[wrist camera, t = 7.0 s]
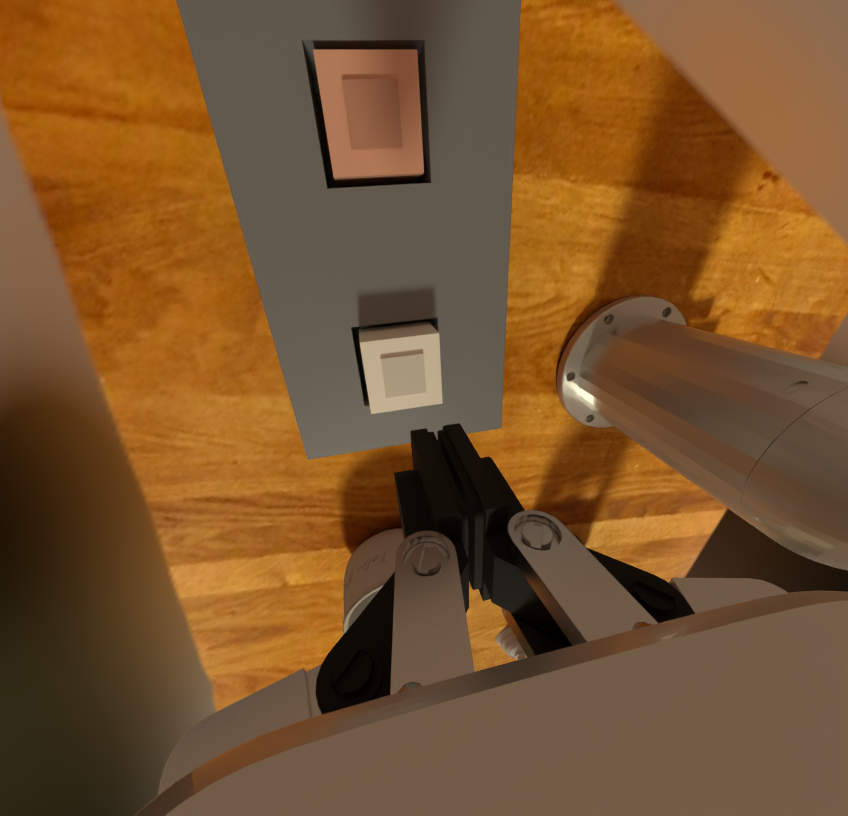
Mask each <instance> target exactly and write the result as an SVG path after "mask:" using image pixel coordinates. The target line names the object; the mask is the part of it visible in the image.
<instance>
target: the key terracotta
mask: <svg viewBox="0 0 848 816" xmlns="http://www.w3.org/2000/svg"><path fill="white" fill-rule="evenodd" d="M313 52H314V59H315V65H316V71H317V77H318V83H319V90H320V96H321V102H322V108H323V114H324V121H325V127H326V133H327V139H328V145H329V152H330V158H331V164H332V170H333V176H334V180H335V183H336V186H350V185H369V184H387V183H405V182H415V181H416V180H417V179H418V178H419V177H420V176H421V175H422V174H423V173H424V162H423V144H422V127H421V109H420V91H419V73H418V55H417V50H313Z"/></svg>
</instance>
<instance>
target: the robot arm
mask: <svg viewBox="0 0 848 816" xmlns="http://www.w3.org/2000/svg"><path fill="white" fill-rule="evenodd" d="M557 391H558V396H559V399H560V401H561V403H562V405H563V407H564V409H565V410H566V411H567V412H568V413H569V414H570V415H571V416H572V417H573V418H575V419H576V420H577V421H579V422H580V423H582V424H584V425H587V426H591V427H595V428H608V427H615V428H617V429H618V430H620V431H621V432H622V433H624V434H625V435H627V436H628V437H629V438H631V439H632V440H634V441H635V442H636V443H638V444H639V445H641V446H642V447H643V448H645V449H646V450H648V451H649V452H650V453H652V454H653V455H655V456H656V457H657V458H659V459H660V460H662V461H663V462H664V463H666V464H667V465H669V466H670V467H671V468H673V469H674V470H676V471H677V472H678V473H680V474H681V475H683V476H684V477H685V478H687V479H688V480H690V481H691V482H692V483H694V484H695V485H697V486H698V487H699V488H701V489H702V490H704V491H705V492H706V493H708V494H709V495H711V496H712V497H713V498H715V499H716V500H718V501H719V502H720V503H722V504H723V505H725V506H726V507H727V508H729V509H730V510H732V511H733V512H734V513H736V514H737V515H739V516H740V517H741V518H743V519H744V520H746V521H747V522H748V523H750V524H752V525H753V526H754V527H756V528H757V529H759V530H760V531H762V532H763V533H765V534H766V535H767V536H769V537H770V538H772V539H773V540H775V541H776V542H778V543H779V544H781V545H783V546H784V547H786V548H788V549H790V550H792V551H794V552H795V553H797V554H799V555H802V556H804V557H807V558H809V559H811V560H814V561H816V562H819V563H822V564H826V565H829V566H832V567H836V568H840V569H845V570H848V367H844V366H840V365H836V364H832V363H829V362H825V361H821V360H817V359H813V358H809V357H805V356H802V355H798V354H794V353H790V352H786V351H782V350H778V349H774V348H771V347H767V346H763V345H759V344H755V343H751V342H747V341H743V340H740V339H736V338H732V337H728V336H724V335H720V334H716V333H712V332H709V331H705V330H701V329H697V328H693V327H689V326H687V324H686V321H685V319H684V317H683V315H682V313H681V312H680V311H679V309H678V308H677V307H676V306H675V305H674V304H672V303H670V302H668V301H667V300H665V299H661V298H657V297H652V296H644V295H637V296H628V297H625V298H622V299H619V300H616V301H613V302H612V303H610V304H608V305H606V306H604V307H602V308H601V309H599V310H598V311H597V312H595V313H594V314H593V315H591V316H590V317H589V318H588V319H587V320H586V321H585V322H584V323H583V324H582V325H581V326H580V327H579V328H578V330H577V331H576V332H575V334H574V335H573V336H572V338H571V339H570V341H569V343H568V345H567V346H566V348H565V350H564V352H563V355H562V358H561V360H560V363H559V367H558V373H557ZM437 435H438V441H437V438H436V436H435V434H434V432H428V430H427V428H424V429H418V430H411V431H410V436H411V447H412V457H413V468H414V470H408V471H402V472H397V473H394V476H395V484H396V492H397V499H398V506H399V512H400V518H401V524H402V529H403V535H404V540H403V541H402V542H401V544H400V546H399V547H398V549H397V553H396V561H395V572H394V573H393V574H392V575H391V577H390V578H389V579H388V580H387V582H386V583H385V584H384V585H383V587H382V588H381V589H380V590H379V592H378V593H377V594H376V595H375V596H374V598H373V599H372V600H371V601H370V603H369V604H368V605H367V606H366V608H365V609H364V610H363V611H362V613H361V614H360V615H359V616H358V618H357V619H356V620H355V621H354V623H353V624H352V625H351V626H350V627H349V629H348V630H347V631H346V632H345V634H344V635H343V636H342V637H341V639H340V640H339V641H338V642H337V644H336V645H335V646H334V647H333V649H332V650H331V651H330V652H329V654H328V655H327V657H326V658H325V660H324V661H323V663H322V664H321V665H319V666H317V667H315V668H313V669H311V670H309V671H307V672H305V670H304V668H303V669H301V670H299V671H297V672H295V673H293V674H291V675H289V676H287V677H285V678H283V679H281V680H279V681H277V682H275V683H273V684H271V685H269V686H267V687H265V688H263V689H261V690H259V691H257V692H255V693H253V694H251V695H249V696H247V697H245V698H243V699H241V700H239V701H237V702H235V703H233V704H231V705H229V706H227V707H226V708H224V709H222V710H220V711H218V712H216V713H214V714H212V715H210V716H208V717H206V718H204V719H203V720H202V721H200V722H199V723H197V724H196V725H194V726H193V727H191V728H190V730H189V731H188V732H187V733H186V734H185V735H184V736H183V737H182V738H181V740H180V741H179V742H178V743H177V745H176V746H175V748H174V750H173V751H172V753H171V755H170V756H169V758H168V760H167V761H166V765H165V768H164V771H163V774H162V777H161V780H160V785H159V792H158V796H157V797H156V798H155V799H154V800H152V801H151V802H150V803H148V804H147V805H146V806H144V807H143V808H142V809H141V810H140V811H139V812H138V813H137V814H136V815H135V816H848V592H838V591H807V592H793V593H787V592H786V591H784V590H783V589H781V588H779V587H777V586H775V585H773V584H770V583H768V582H765V581H762V580H757V579H750V578H749V579H748V578H747V579H746V578H672V579H671V581H670V582H666V581H665V580H663V579H661V578H659V577H657V576H655V575H653V574H651V573H648V572H646V571H643V570H641V569H638V568H636V567H633V566H631V565H628V564H626V563H623V562H621V561H618V560H616V559H613V558H611V557H608V556H606V555H603V554H601V553H598V552H596V551H593V550H591V549H588V548H586V547H584V546H583V545H582V543H581V542H580V541H579V540H578V539H577V538H576V537H575V536H574V535H573V534H572V533H571V532H570V531H569V530H568V529H567V528H566V527H565V526H564V525H563V524H562V523H561V522H560V521H559V520H558V519H556V518H555V517H554V516H552V515H550V514H548V513H545V512H541V511H537V510H526V511H525V510H524V508H523V507H522V505H521V504H520V502H519V501H518V499H517V497H516V496H515V494H514V493H513V491H512V490H511V488H510V486H509V485H508V483H507V482H506V480H505V479H504V477H503V475H502V474H501V472H500V471H499V469H498V468H497V466H496V464H495V463H494V461H493V460H492V459H491V458H490V457H484V458H480V457H479V455H478V453H477V452H476V450H475V448H474V447H473V445H472V443H471V442H470V440H469V438H468V436H467V435H466V433H465V431H464V430H463V428H462V426H461V425H460V423H457V424H450V425H444V426H443V430H439V431H438V433H437ZM469 581H470V584H471V587H472V589H473V590H476V589H479V591H480V594H481V596H482V599H483V601H484V600H488V599H491V601H492V602H493V603H494V604H496V605H498V606H500V607H502V612H503V614H504V617H505V619H506V621H507V623H508V624H509V626H510V628H511V630H512V631H513V633H514V635H515V637H516V638H517V640H518V642H519V644H520V646H521V647H522V649H523V651H524V653H525V654H526V656H527V658H525V659H521V660H518V661H514V662H510V663H506V664H503V665H499V666H495V667H491V668H488V669H484V670H480V671H477V672H474V666H473V659H472V652H471V646H470V639H469V633H468V626H467V620H466V612H467V610H468V608H469Z"/></svg>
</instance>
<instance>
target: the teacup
mask: <svg viewBox="0 0 848 816" xmlns="http://www.w3.org/2000/svg"><path fill="white" fill-rule="evenodd" d="M403 540H404V535H403V529H389V530H386V531H383V532H380V533H378V534H376V535H374V536H372V537H370V538H369V539H367V540H366V541H365V542H363V543H362V544H361V545H360V546H359V547H358V548H357V549H356V550H355V552H354V553H353V554H352V556H351V558H350V560H349V562H348V564H347V567H346V571H345V577H344V621H343V631H344V634H345V632H346V631H347V630H348V629H349V627H350V626H351V625H352V624H353V623H354V621H355V620H356V619H357V618H358V616H359V615H360V614H361V613H362V611H363V610H364V609H365V608H366V606H367V605H368V604H369V603H370V601H371V600H372V599H373V598H374V596H375V595H376V594H377V593H378V592H379V590H380V589H381V588H382V587H383V585H384V584H385V583H386V582H387V580H388V579H389V578H390V577H391V575H392V574H393V573H394V572H395V561H396V553H397V549H398V547H399V546H400V544H401V542H402V541H403Z"/></svg>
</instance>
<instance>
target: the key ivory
mask: <svg viewBox="0 0 848 816" xmlns="http://www.w3.org/2000/svg"><path fill="white" fill-rule="evenodd" d="M359 341H360V348H361V354H362V360H363V367H364V373H365V379H366V385H367V391H368V397H369V404H370V410H371V414H376V413H382V412H389V411H396V410H402V409H409V408H416V407H422V406H429V405H436V404H443V402H442V381H441V360H440V339H439V332H438V331H437V330H436V329H435V328H434V327H433V326H432V325H431V324H430V323H429V322H419V323H410V324H401V325H393V326H384V327H375V328H366V329H359Z"/></svg>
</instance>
